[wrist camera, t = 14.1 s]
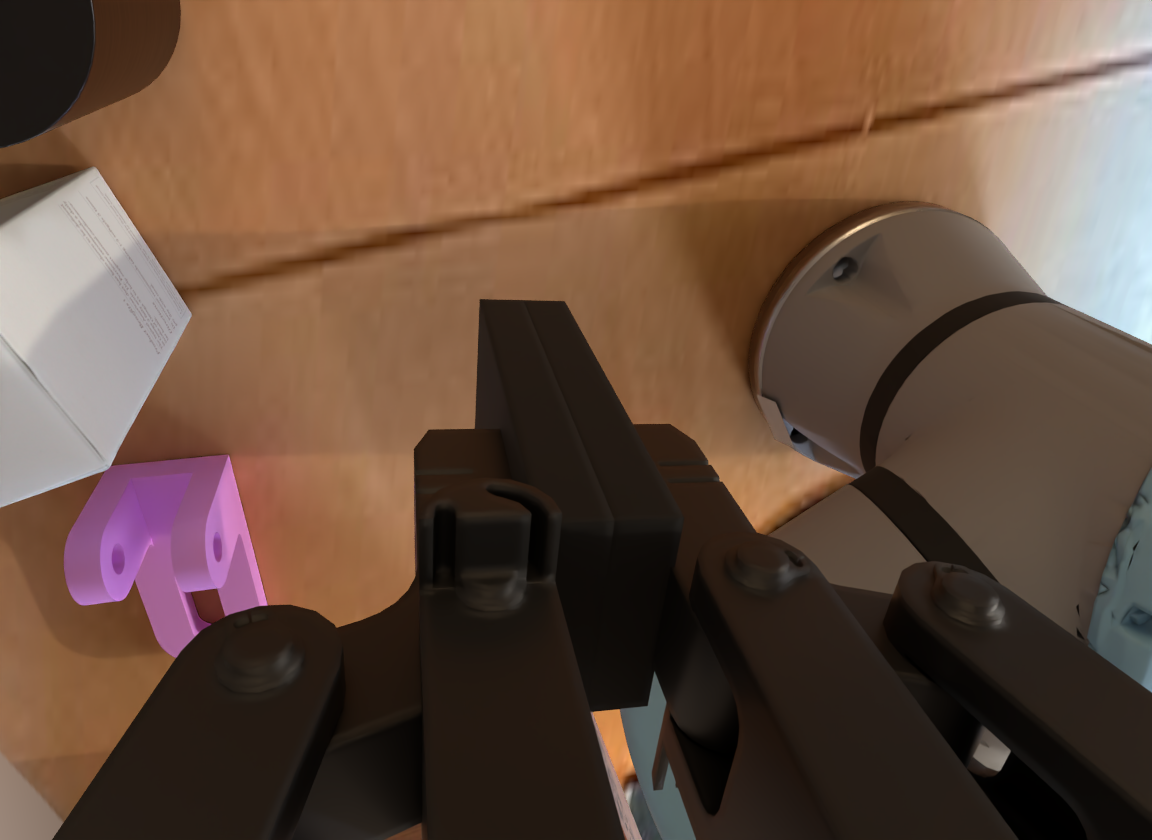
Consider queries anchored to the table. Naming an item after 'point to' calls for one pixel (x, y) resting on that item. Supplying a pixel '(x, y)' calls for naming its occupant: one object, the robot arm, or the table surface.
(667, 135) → the table surface
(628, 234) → the table surface
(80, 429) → the white packaging box
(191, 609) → the bracket
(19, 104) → the pen cup
